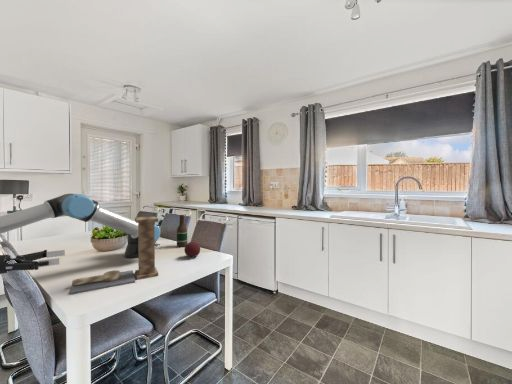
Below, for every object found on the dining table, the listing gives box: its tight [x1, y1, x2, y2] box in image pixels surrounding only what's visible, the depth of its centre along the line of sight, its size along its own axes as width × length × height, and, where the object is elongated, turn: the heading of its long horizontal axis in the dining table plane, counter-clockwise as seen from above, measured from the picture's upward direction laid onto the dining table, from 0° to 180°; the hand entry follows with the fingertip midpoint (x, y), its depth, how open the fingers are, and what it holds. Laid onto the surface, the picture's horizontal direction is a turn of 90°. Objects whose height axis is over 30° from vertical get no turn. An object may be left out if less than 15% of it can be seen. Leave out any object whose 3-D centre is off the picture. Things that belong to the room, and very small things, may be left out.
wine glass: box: [155, 224, 162, 247], centre depth 182 cm, size 8×8×15 cm
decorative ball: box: [184, 241, 201, 258], centre depth 155 cm, size 10×10×10 cm
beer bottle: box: [176, 214, 188, 248], centre depth 180 cm, size 8×8×24 cm
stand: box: [134, 216, 159, 280], centre depth 125 cm, size 10×10×30 cm
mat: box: [70, 269, 136, 295], centre depth 116 cm, size 25×16×1 cm, turn 121°
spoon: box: [71, 269, 121, 287], centre depth 114 cm, size 19×7×3 cm, turn 121°
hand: (62, 256), depth 107 cm, fingers open, 13 cm apart
